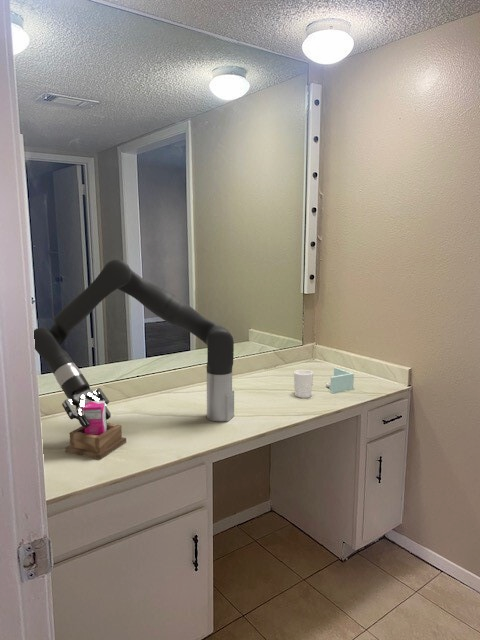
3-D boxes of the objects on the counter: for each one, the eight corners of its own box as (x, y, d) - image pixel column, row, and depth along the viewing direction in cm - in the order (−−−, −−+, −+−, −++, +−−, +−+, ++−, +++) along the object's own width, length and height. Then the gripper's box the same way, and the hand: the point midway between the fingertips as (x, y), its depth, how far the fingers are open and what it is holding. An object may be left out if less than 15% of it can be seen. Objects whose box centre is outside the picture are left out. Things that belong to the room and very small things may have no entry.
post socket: (126, 442, 155) (125, 424, 154) (100, 459, 143) (99, 440, 142) (93, 436, 160) (92, 418, 159) (65, 452, 148) (64, 433, 147)
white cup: (291, 397, 200) (291, 373, 199) (296, 391, 208) (297, 368, 206) (309, 399, 197) (310, 375, 196) (314, 393, 205) (315, 370, 203)
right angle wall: (334, 383, 221) (335, 367, 220) (353, 390, 211) (353, 373, 210) (314, 387, 216) (314, 370, 214) (331, 394, 205) (332, 377, 204)
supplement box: (88, 435, 154) (86, 400, 152) (107, 434, 155) (106, 400, 153) (84, 443, 148) (82, 407, 146) (104, 442, 149) (102, 406, 147)
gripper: (57, 379, 146) (85, 423, 142) (94, 368, 158) (121, 409, 154) (47, 393, 150) (74, 436, 146) (84, 381, 161) (110, 421, 158)
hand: (98, 422), depth 150 cm, fingers closed on supplement box, 8 cm apart
